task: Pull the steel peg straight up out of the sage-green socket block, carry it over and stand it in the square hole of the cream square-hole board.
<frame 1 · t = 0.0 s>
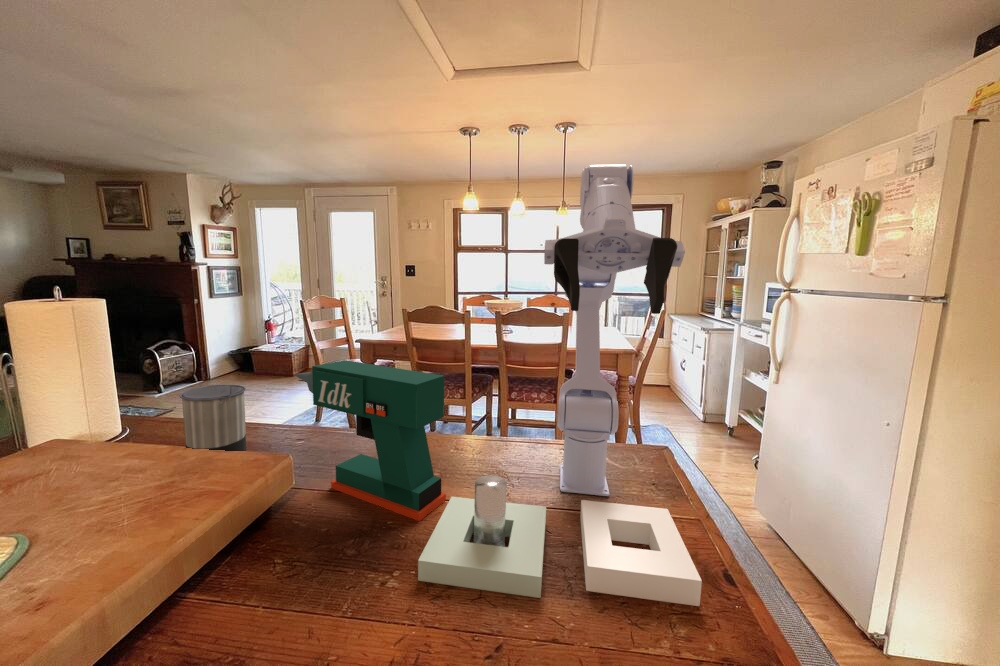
hand: (616, 305, 38), 32 cm above the kitchen island, tool tilted 50°, fingers open, 7 cm apart
power tool: (355, 485, 67), on the kitchen island
cream square-hole board: (630, 556, 50), on the kitchen island
socket block: (489, 548, 51), on the kitchen island
steel peg: (489, 516, 51), in the socket block
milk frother: (189, 480, 67), on the kitchen island
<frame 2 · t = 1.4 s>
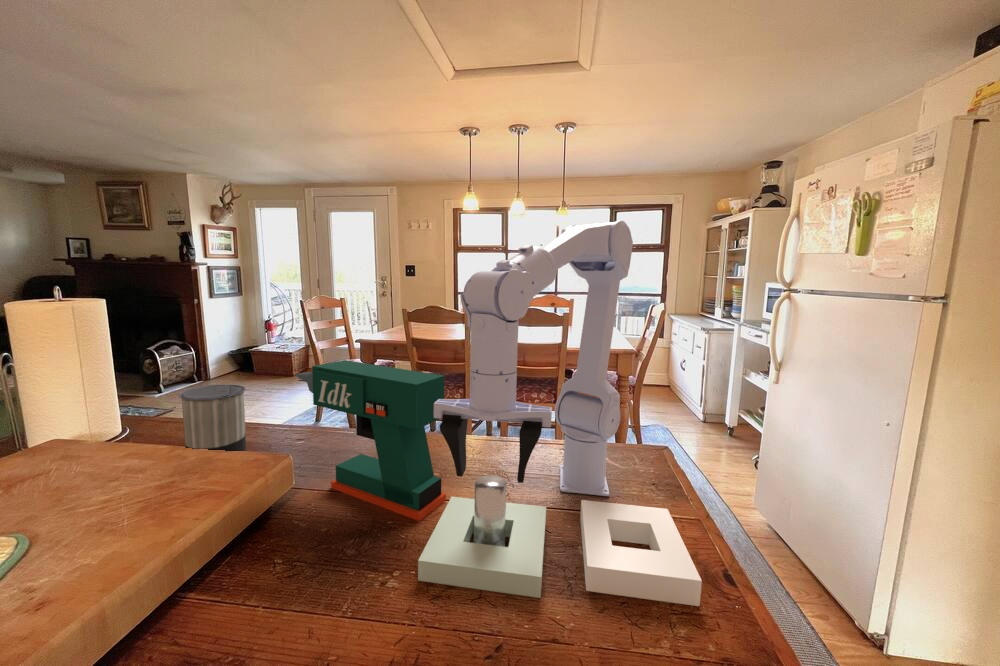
hand: (490, 475, 50), 10 cm above the kitchen island, tool pointing down, fingers open, 7 cm apart
nothing on the kitchen island moved.
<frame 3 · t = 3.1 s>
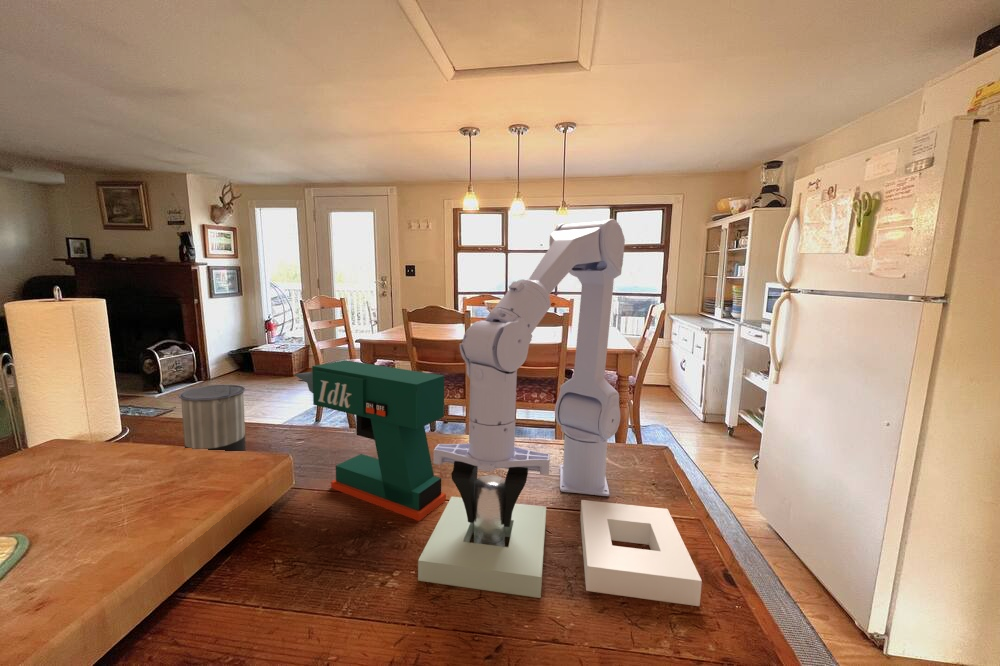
hand: (489, 520, 51), 4 cm above the kitchen island, tool pointing down, fingers closed on steel peg, 4 cm apart
steel peg: (489, 516, 51), in the socket block, touching gripper
everything else where it was.
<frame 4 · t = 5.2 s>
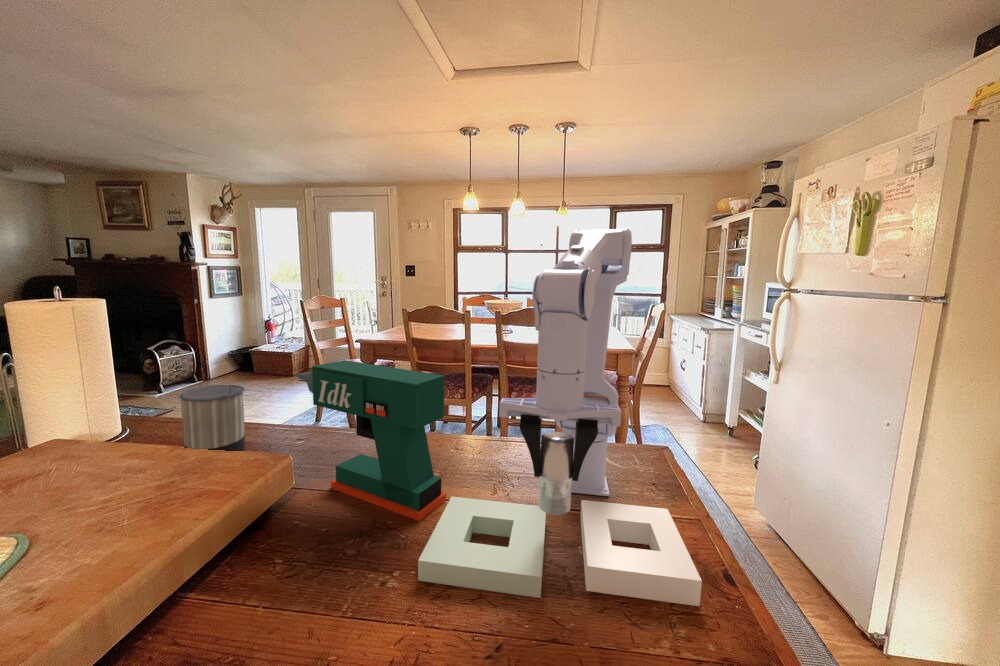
hand: (556, 475, 50), 10 cm above the kitchen island, tool pointing down, fingers closed on steel peg, 4 cm apart
steel peg: (555, 472, 50), point 11 cm above the kitchen island, touching gripper
everything else where it was.
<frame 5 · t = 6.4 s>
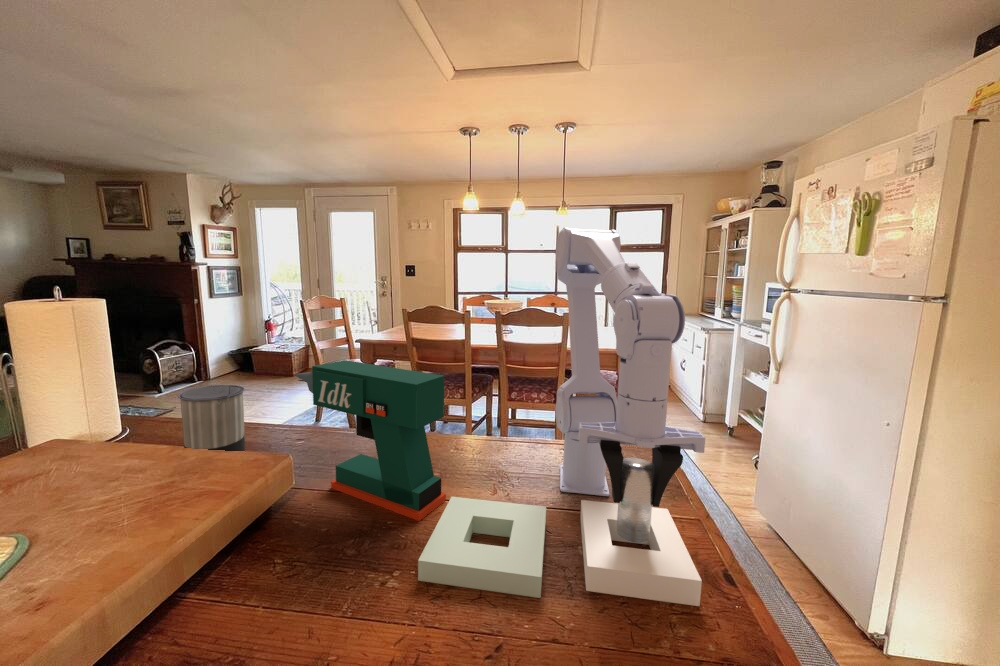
hand: (634, 500, 50), 8 cm above the kitchen island, tool pointing down, fingers closed on steel peg, 4 cm apart
steel peg: (635, 498, 49), point 8 cm above the kitchen island, touching gripper
everything else where it was.
when the fingers open (5 cm above the kitchen island, at t = 7.3 s): steel peg stays where it is, on the kitchen island.
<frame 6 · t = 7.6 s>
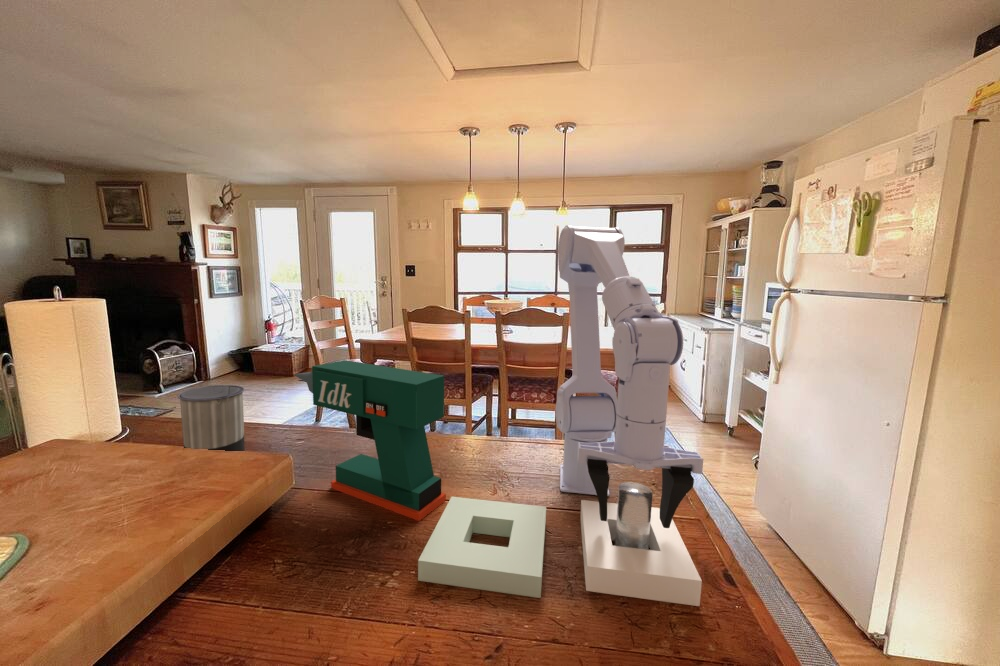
hand: (633, 520, 50), 5 cm above the kitchen island, tool pointing down, fingers open, 7 cm apart
steel peg: (633, 523, 50), in the cream square-hole board
everything else where it was.
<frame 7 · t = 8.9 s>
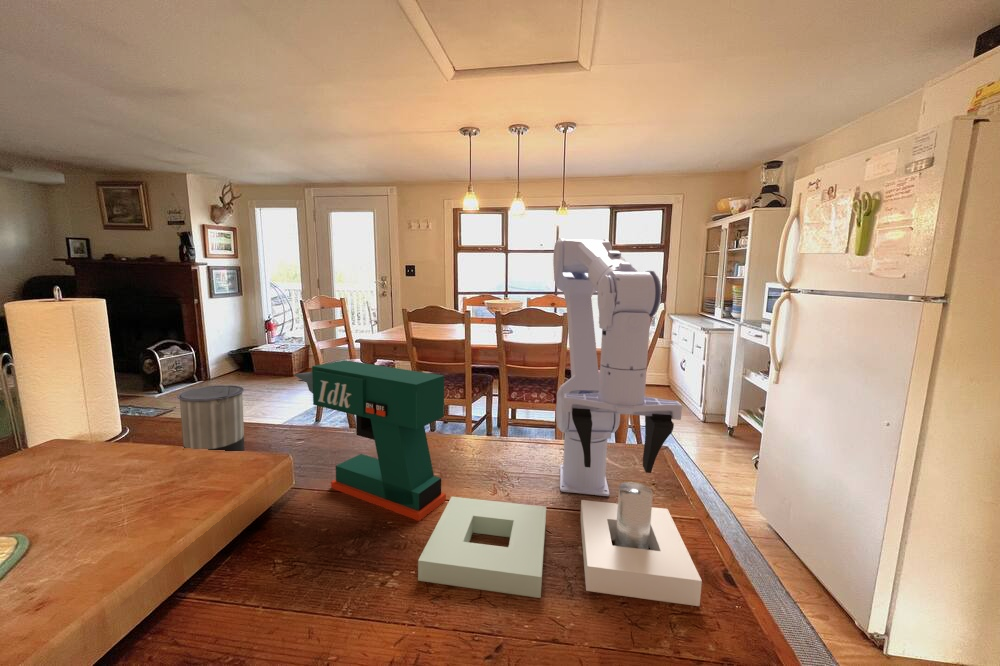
hand: (616, 466, 52), 10 cm above the kitchen island, tool pointing down, fingers open, 7 cm apart
nothing on the kitchen island moved.
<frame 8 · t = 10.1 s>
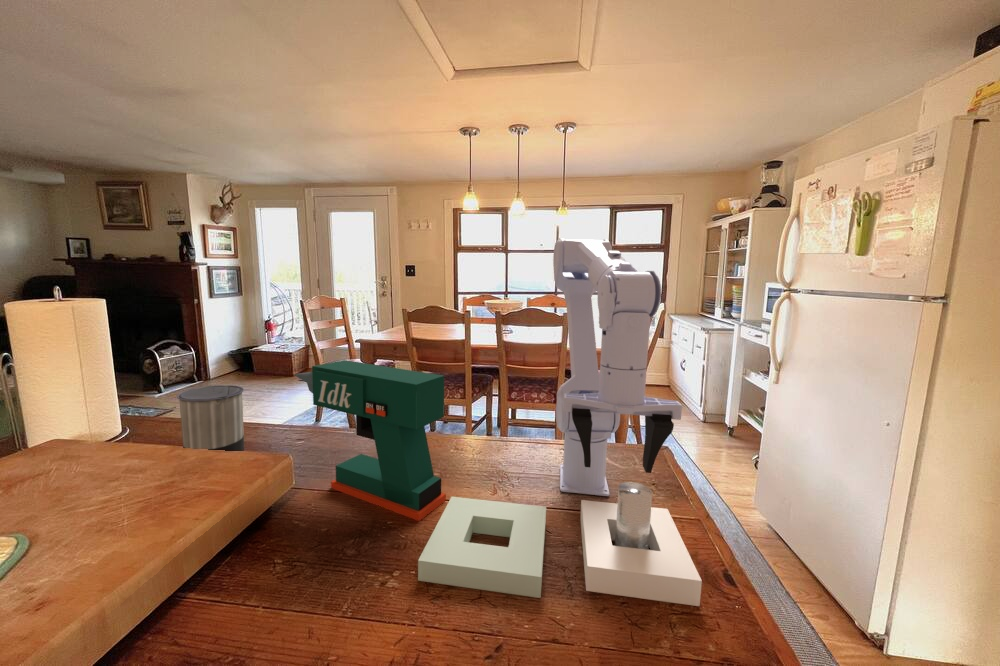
hand: (616, 466, 52), 10 cm above the kitchen island, tool pointing down, fingers open, 7 cm apart
nothing on the kitchen island moved.
at the end: steel peg 0.1 cm off-centre on the cream square-hole board, point 4.5 cm above the cream square-hole board's base; steel peg tilted 0°; the gripper is holding nothing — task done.
